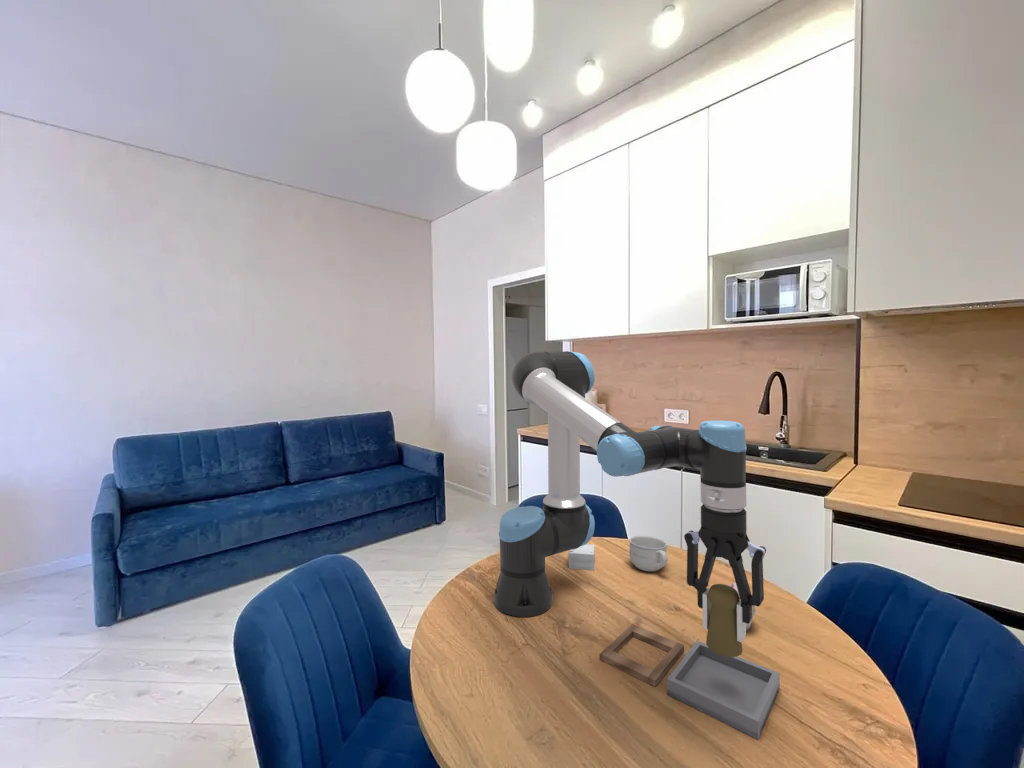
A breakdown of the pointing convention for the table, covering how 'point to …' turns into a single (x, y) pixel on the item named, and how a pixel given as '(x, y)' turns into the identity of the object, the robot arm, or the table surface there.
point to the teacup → (648, 552)
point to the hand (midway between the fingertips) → (724, 631)
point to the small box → (582, 557)
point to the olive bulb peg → (723, 621)
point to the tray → (725, 688)
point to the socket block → (636, 668)
